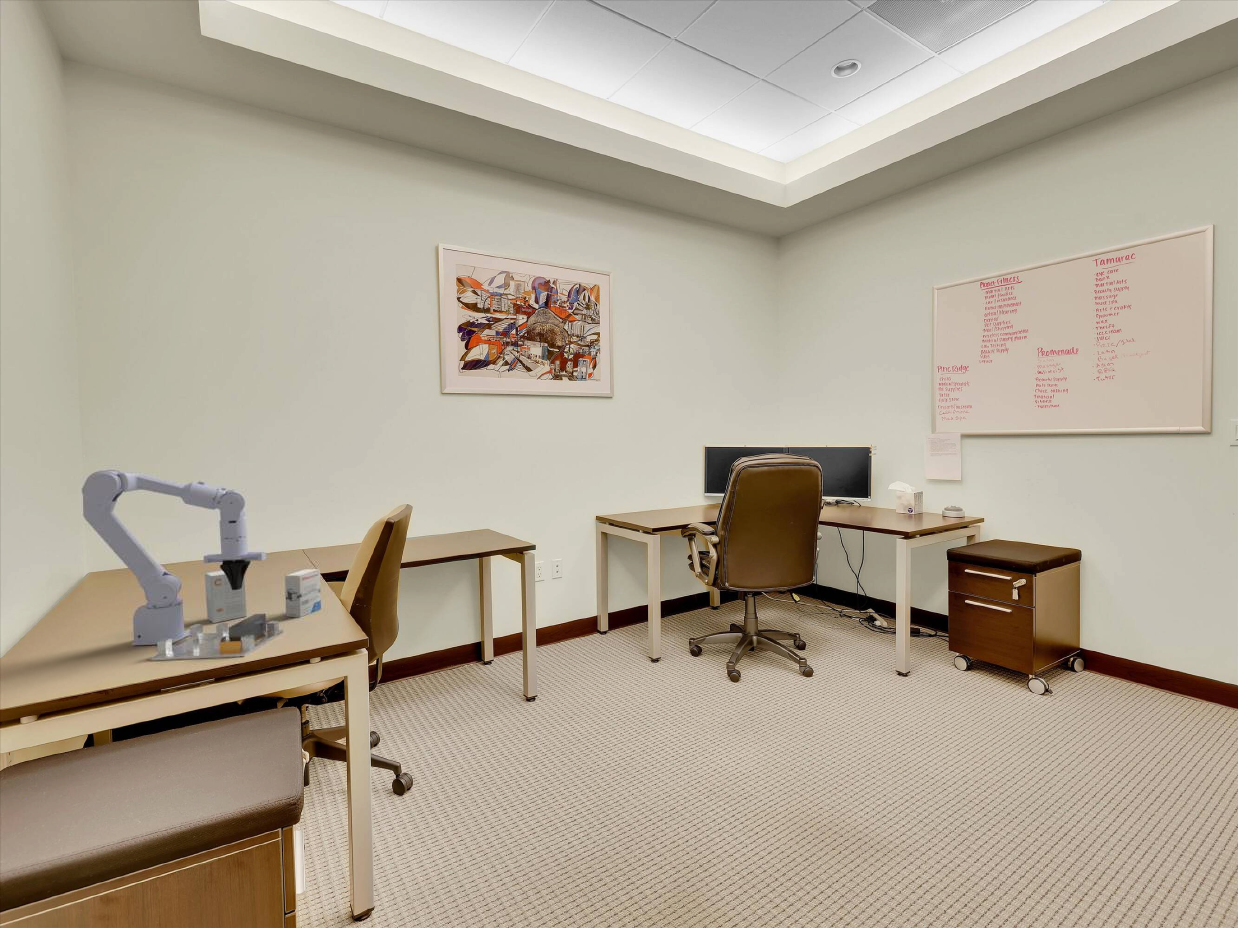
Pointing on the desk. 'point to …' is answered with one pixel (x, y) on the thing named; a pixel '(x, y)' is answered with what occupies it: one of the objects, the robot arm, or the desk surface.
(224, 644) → the rack
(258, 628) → the panel
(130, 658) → the desk surface
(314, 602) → the ink box
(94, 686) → the desk surface
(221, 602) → the small box
